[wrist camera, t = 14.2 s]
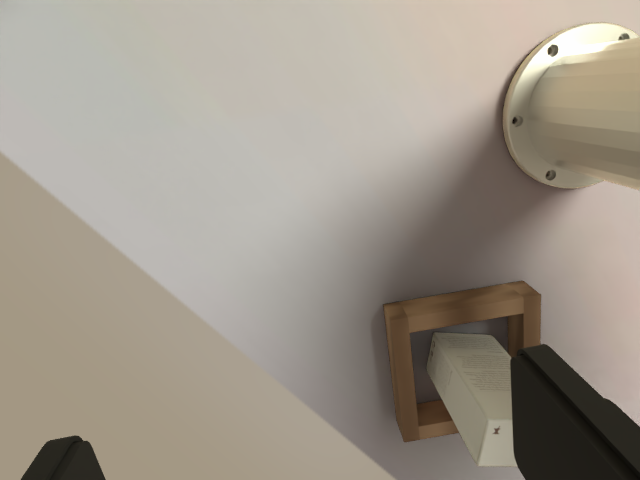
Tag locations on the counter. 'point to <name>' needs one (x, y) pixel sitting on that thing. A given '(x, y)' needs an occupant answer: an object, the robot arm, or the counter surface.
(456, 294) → the square wooden frame
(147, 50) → the counter surface
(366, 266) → the counter surface
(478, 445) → the skincare box
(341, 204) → the counter surface
